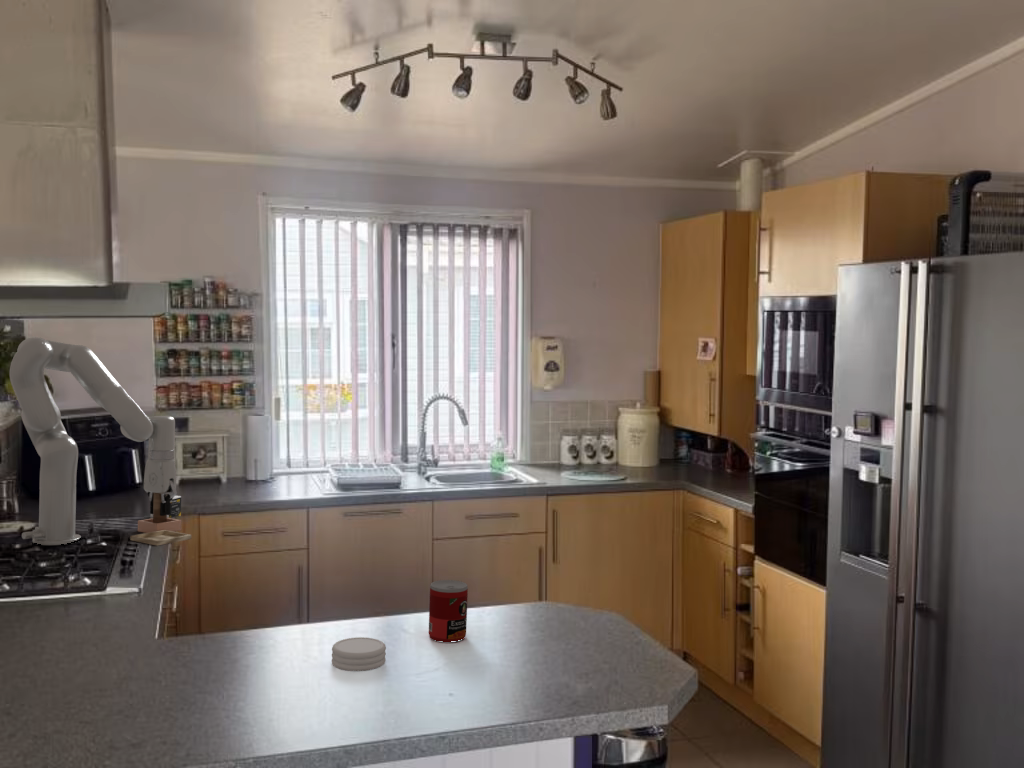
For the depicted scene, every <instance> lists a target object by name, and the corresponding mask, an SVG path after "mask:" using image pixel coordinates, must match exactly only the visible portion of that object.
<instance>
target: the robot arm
mask: <svg viewBox="0 0 1024 768" xmlns="http://www.w3.org/2000/svg"><path fill="white" fill-rule="evenodd" d="M16 351H17V352H15V354H14V356H13V358H12V360H11V362H10V366H9V381H10V384H11V387H12V390H13V391H14V394H15V397H16V400H17V402H18V404H19V406H20V408H21V413H20V414H21V420H22V423H23V425H24V428H25V430H26V431H27V434H28V436H29V438H30V440H31V442H32V445H33V446H34V448H35V450H36V452H37V453H36V454H38V456H39V457H40V468H39V488H38V489H39V498H38V500H39V505H38V507H39V508H38V512H39V513H38V526H35V528H34V529H32V531H24V532H22V533H21V538H22V540H28V539H32V543H33V544H34V543H37V544H36V545H38V544H41V545H40V546H62V545H61V544H64V545H68V544H67V543H71V542H74V541H77V540H79V539H80V538H81V539H82V536H81V535H80V534H79V533H78V534H77V533H76V516H77V515H76V514H77V513H76V511H77V509H76V508H77V472H78V471H77V470H78V460H79V447H78V444H77V442H76V441H75V440H74V438H73V437H71V436H69V434H68V433H67V430H66V428H65V426H64V424H63V422H62V419H61V418H62V415H61V410H60V409H59V406H58V405H57V404H56V401H55V399H54V397H53V395H52V393H51V391H50V389H49V386H48V383H47V381H46V377H45V369H47V370H53V371H59V372H65V373H70V374H71V375H72V376H73V377H74V378H75V380H76V381H77V382H78V383H79V384H80V386H81V387H82V388H83V389H84V391H86V393H87V394H88V396H90V398H91V399H92V400H93V401H94V402H95V403H96V404H97V405H98V406H100V407H101V408H102V409H104V410H105V411H106V412H107V413H109V414H110V415H111V417H112V418H114V420H115V421H116V422H117V423H118V424H119V425H120V427H119V428H120V432H121V434H122V435H123V436H124V437H125V438H126V439H129V440H131V441H134V442H137V443H141V442H145V441H148V454H147V455H148V457H147V460H146V462H145V467H144V473H143V474H144V476H143V490H144V491H145V493H147V496H148V500H149V503H150V504H149V509H150V510H149V513H150V515H151V514H153V497H154V493H160V494H161V498H162V503H160V515H161V516H165V515H170V502H171V501H172V499H173V497H174V496H178V491H177V469H176V462H175V446H176V445H175V443H176V437H175V436H176V435H175V434H176V420H175V418H174V417H173V416H171V415H154V416H148V415H147V414H146V413H145V412H144V411H143V410H142V408H141V407H140V405H138V403H136V401H135V400H134V399H133V398H132V397H131V395H129V393H128V392H127V391H126V389H124V387H123V386H122V385H121V384H120V383H119V381H117V378H115V376H113V374H112V372H110V370H108V369H107V367H106V366H105V365H104V363H103V362H102V361H101V360H100V359H99V357H98V356H97V355H96V354H95V352H93V350H92V349H91V348H90V347H88V346H85V345H82V344H81V345H80V344H71V343H64V342H63V343H62V342H58V341H51V340H48V339H45V338H41V337H28V338H26V339H24V340H22V341H21V342H20V343H19V345H18V347H17V350H16ZM165 494H167V496H166V497H165ZM71 544H72V543H71Z"/></svg>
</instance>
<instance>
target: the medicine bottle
mask: <svg viewBox="0 0 1024 768" xmlns="http://www.w3.org/2000/svg"><path fill="white" fill-rule="evenodd" d="M181 515H182V496H181V495H176V496H174V497H173V499H172V501H171V502H170V515H167V518H173V517H181ZM152 518H153V514H150V519H152Z"/></svg>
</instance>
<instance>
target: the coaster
mask: <svg viewBox="0 0 1024 768" xmlns="http://www.w3.org/2000/svg"><path fill="white" fill-rule="evenodd" d="M386 649H387V645H386V644H385V643H384V642H383V641H382V640H380V639H377V638H372V637H361V636H360V637H357V636H356V637H348V638H345V639H341V640H339V641H336V642H335V643H334V644H332V647H331V651H332V654H331V663H332V665H333V666H334V668H336V669H339V670H341V671H347V672H367V671H372V670H375V669H379V668H381V667H382V666H384V664H385V663H386V656H387V655H386V654H387V653H386Z"/></svg>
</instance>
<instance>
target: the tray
mask: <svg viewBox="0 0 1024 768" xmlns="http://www.w3.org/2000/svg"><path fill="white" fill-rule="evenodd" d="M129 539H130V540H129V541H133V542H138V543H144V544H146V545H153V546H156V547H157V546H163V545H168V544H173V543H178V542H183V541H188V540H192V534H189V533H185V532H180V531H176V532H174V531H168V530H161V531H155V532H150V533H144V532H143V533H139V534H132V535H130V538H129Z"/></svg>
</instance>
